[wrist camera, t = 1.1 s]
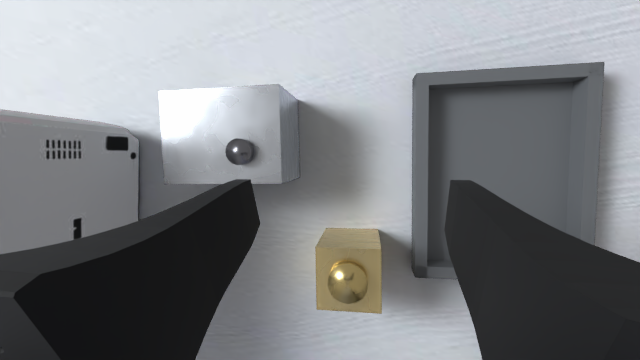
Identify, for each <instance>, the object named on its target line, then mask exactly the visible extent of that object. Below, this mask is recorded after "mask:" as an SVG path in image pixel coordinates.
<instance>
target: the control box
mask: <svg viewBox="0 0 640 360" xmlns="http://www.w3.org/2000/svg"><path fill="white" fill-rule="evenodd" d="M159 107H160V123H161V139H162V156H163V172H164V184H224V183H227V182H229V181H232V180H235V179H251V184H282V183H285V182H288V181H291V180H294V179H297V178H300V166H299V126H298V99H296V98H295V97H294V96H293V95H291V94H290V93H289V92H288V91H287V90H285V89H284V88H283V87H282V86H281V85H279V84H271V85H254V86H238V87H221V88H205V89H188V90H172V91H159Z"/></svg>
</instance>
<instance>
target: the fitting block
mask: <svg viewBox="0 0 640 360" xmlns="http://www.w3.org/2000/svg"><path fill="white" fill-rule="evenodd" d="M315 249H316V298H317V310H332V311H348V312H364V313H380V314H382V298H381V244H380V238H379V232H378V229H347V228H326V229H325V231H324V233H323V235H322V236H321V238H320V240H319V242H318V244H317V245H316V247H315Z"/></svg>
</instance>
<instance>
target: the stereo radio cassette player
mask: <svg viewBox="0 0 640 360" xmlns="http://www.w3.org/2000/svg"><path fill="white" fill-rule="evenodd" d="M138 178H139V141H138V139H137V138H135V137H134V136H133V135H131V134H130V132H129V130H127V129H125V128H123V127H120V126H116V125H111V124H106V123H102V122H96V121H88V120H80V119H72V118H65V117H57V116H49V115H41V114H33V113H25V112H18V111H10V110H2V109H0V254H5V253H11V252H17V251H23V250H28V249H34V248H39V247H44V246H49V245H53V244H58V243H62V242H67V241H71V240H75V239H79V238H83V237H87V236H91V235H94V234H98V233H101V232H105V231H108V230H111V229H115V228H118V227H121V226H125V225H128V224H131V223H134V222H136V221H138Z"/></svg>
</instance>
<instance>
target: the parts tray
mask: <svg viewBox="0 0 640 360" xmlns="http://www.w3.org/2000/svg"><path fill="white" fill-rule="evenodd" d="M603 78H604V62H595V63H579V64H563V65H547V66H531V67H514V68H498V69H482V70H466V71H449V72H433V73H417V74H416V75H415V77H414V78H413V110H412V271H413V273H414V276H415V277H418V278H441V279H458V278H457V276H456V273H455V270H454V267H453V264H452V261H451V258H450V256H449V251H448V247H447V242H446V237H445V231H444V228H445V220H446V212H447V204H448V195H449V187H450V180H471V181H473V182H475V183H477V184H479V185H481V186H482V187H484V188H486V189H487V190H489V191H491V192H492V193H494V194H495V195H497V196H499V197H500V198H502V199H503V200H505V201H507V202H508V203H510V204H512V205H514V206H515V207H517V208H519V209H520V210H522V211H524V212H526V213H527V214H529V215H531V216H533V217H535V218H537V219H539V220H541V221H542V222H544V223H546V224H548V225H550V226H552V227H554V228H556V229H558V230H560V231H563V232H565V233H567V234H569V235H572V236H574V237H576V238H578V239H580V240H583V241H585V242H587V243H590V244H592V245H594V241H595V223H596V205H597V187H598V169H599V151H600V132H601V114H602V96H603Z"/></svg>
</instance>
